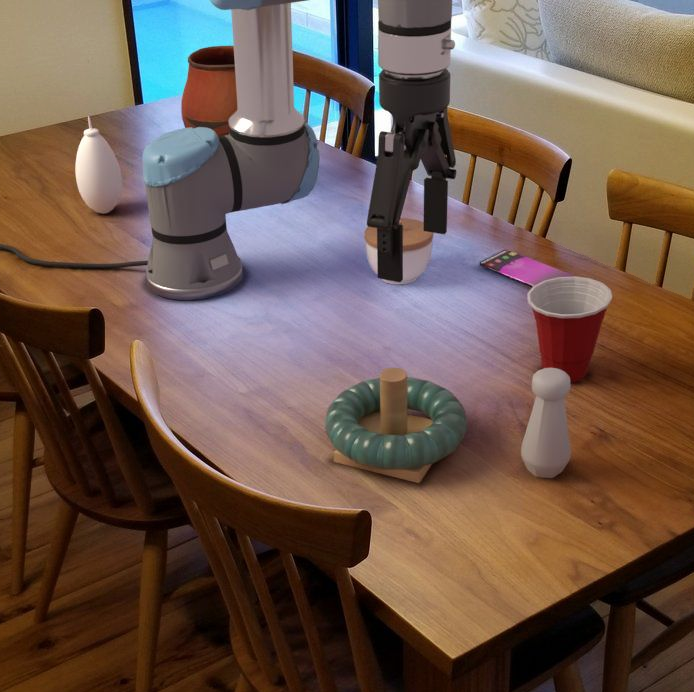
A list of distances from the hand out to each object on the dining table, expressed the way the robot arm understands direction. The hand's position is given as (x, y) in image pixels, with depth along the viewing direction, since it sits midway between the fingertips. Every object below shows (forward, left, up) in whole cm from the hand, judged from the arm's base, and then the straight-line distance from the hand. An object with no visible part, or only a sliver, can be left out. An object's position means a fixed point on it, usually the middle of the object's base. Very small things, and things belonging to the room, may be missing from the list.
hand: (413, 254), depth 124 cm
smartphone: (+1, +45, -23) cm, 51 cm away
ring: (0, -6, -19) cm, 20 cm away
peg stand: (0, -7, -23) cm, 24 cm away
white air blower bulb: (-79, +42, -23) cm, 92 cm away
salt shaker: (+18, -4, -23) cm, 30 cm away
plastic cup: (+14, +18, -23) cm, 33 cm away
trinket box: (-18, +37, -23) cm, 47 cm away
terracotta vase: (-62, +62, -23) cm, 91 cm away
